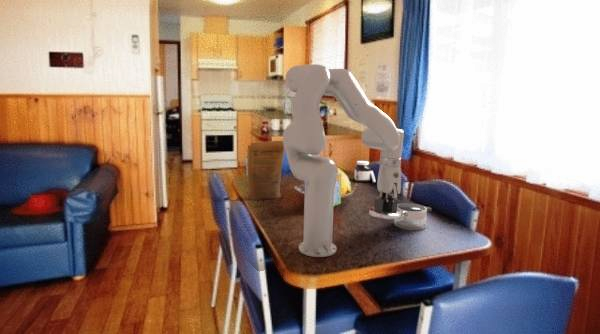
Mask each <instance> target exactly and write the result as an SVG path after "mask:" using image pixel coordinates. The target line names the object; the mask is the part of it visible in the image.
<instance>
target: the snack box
mask: <svg viewBox="0 0 600 334" xmlns="http://www.w3.org/2000/svg"><path fill="white" fill-rule="evenodd" d="M308 186H309V183H308V182H305V181H304V194H305V193H306V191H307V189H308ZM341 201H342V172H338V176H337V180H336V185H335V190H334V203H333V207H335V206H338V205H341V204H342V202H341Z"/></svg>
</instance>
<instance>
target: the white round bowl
mask: <svg viewBox="0 0 600 334" xmlns="http://www.w3.org/2000/svg"><path fill="white" fill-rule="evenodd" d="M374 199H375V200H374V206H369V215H370V216H371V217H374V218H377V219H382V220H394V221H395V219H400V218H401V213H400V212H399V211H397V205H398V204H399V203H398V202H399V199H397V198H396V199H394V202H393V206H392V212H386V213H385V212H384V202H386V198H380V197H375V198H374Z"/></svg>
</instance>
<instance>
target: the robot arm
mask: <svg viewBox="0 0 600 334" xmlns="http://www.w3.org/2000/svg"><path fill="white" fill-rule="evenodd" d="M284 80H285V85H286V87H287V88H288V89H289V90H290V91H291V92H293V93H294V96H293V99H292V102H291V117H292V122H291V123H289V124H288V125H287V126H286V127H285V129H284V131H283V135H282V141H283V144H284V153H285V155H286V159H287V162H288V166H289V168H290V171H291V173H292V175H293V176H294V178H295V179H298V180H300V181H302V182H304V183H305V182H308V183H309V186H308V189H307V191H306V193H305V192H304V200H303V203H304V204H303V205H304V206H303V207H304V208H303V241H302V242H300V244H298V250H299V252H300V253H301V254H303V255H305V256H309V257H312V258H325V257H326V258H327V257H330V256H333V255H334V254H336V252H337V249H338V248H337V246H336V245H335V244H334V242H333V228H334V227H333V225H334V206H333V203H334V190H335V185H336V180H337V176H338V170H339V168H338V167H337V164H336V162H335V161H334V160H332V159H331V158H329V157H326V156H322V155H321V154H322V153H323V152H324V151H325V150H326V148H327V147H326V146H327V138H326V134H325V133H326V132H325V128H324V124H323V121H322V116H321V111H320V110H321V109H320V103H321V100H322V98H323V96H333V97H334V98H335V100H336V101H337V102H338V104H339V106H340V107H341V108H342V110H343V111H344V112H345V114H346V116H347V117H348V118H350V119H351V120H353V121H354V122H356V123H358V124H360V125H363V126H365V127H367V128H365V129H364V130H363V131H362V133H361V136H360V139H361V143H362V144H363V145H364V146H365V147H367V148H370V149H374V150H380V155H379V156H380V157H379V169H378V175H377V181H376V187H377V190H378V193H379V198H386V202H384V212H385V213H386V212H392V206H393V202H394V199H397V198H398V195H400V194H401V189H402V169H401V165H402V157H403V156H402V154H403V148H404V147H403V146H404V139H405V137H404V136H405V134H404V133H405V132H404V130H403V129H401V128H397V126H396V124H395V123H394V121H393V120H392V119H391V118H390V116H388V115H387V114H386V113H385V111H384V112H383V111H382V110H381V109H380V108H378V106H376V105H374V104H373V103H372V102H370V100H369V99H368V98H367V96H366V94H365V93H364V90H363V89H362V87H361V86H360V84H359V83H358V81H357V79H355V77H354V75H353V74H352V73H351V71H349V70H348V69H346V68H328V67H326V65H325V66H324V65H322V64H302V65H301V64H300V65H294V66H292V67H290V68H289V69H288V70H287V71H286V73H285V77H284ZM319 154H320V155H319Z"/></svg>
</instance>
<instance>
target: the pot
mask: <svg viewBox="0 0 600 334" xmlns="http://www.w3.org/2000/svg"><path fill="white" fill-rule="evenodd" d="M432 210H433V208H432V207H430V206H424V205H422V204H418V203H411V202H409V203H408V202H406V203H405V202H404V203H398V205H397V211H399V212H400V213H401V218H400V219H395V220H394V226H395V227H396V226H397V228H398V227H399V228H398V229H401V228H402V229H401V230H405V229H406V231H413V230H416V231H422V230H421V229H423V230H425V229H426V225H427V212H432ZM424 228H425V229H424Z"/></svg>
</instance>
